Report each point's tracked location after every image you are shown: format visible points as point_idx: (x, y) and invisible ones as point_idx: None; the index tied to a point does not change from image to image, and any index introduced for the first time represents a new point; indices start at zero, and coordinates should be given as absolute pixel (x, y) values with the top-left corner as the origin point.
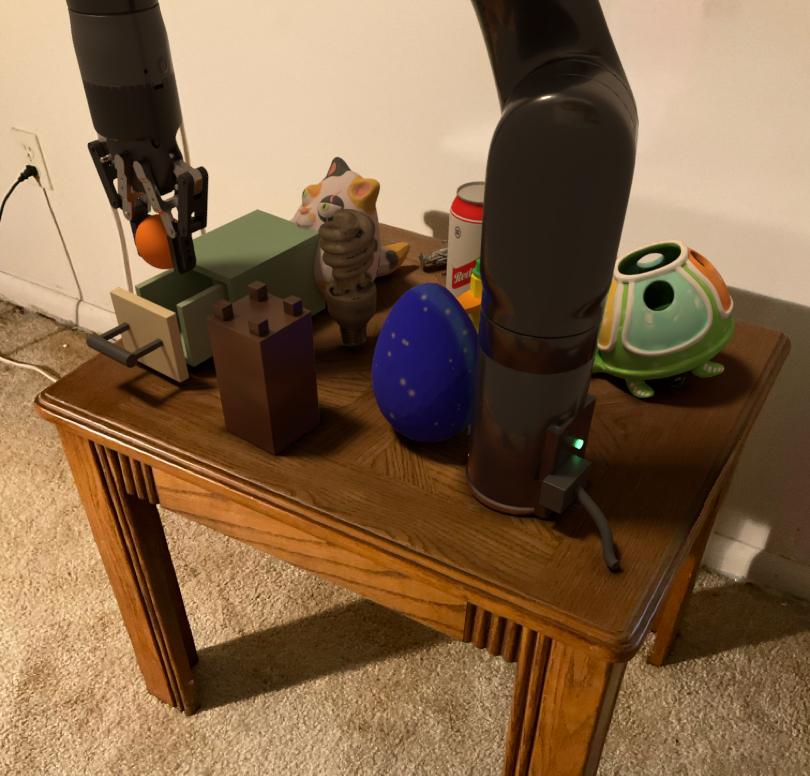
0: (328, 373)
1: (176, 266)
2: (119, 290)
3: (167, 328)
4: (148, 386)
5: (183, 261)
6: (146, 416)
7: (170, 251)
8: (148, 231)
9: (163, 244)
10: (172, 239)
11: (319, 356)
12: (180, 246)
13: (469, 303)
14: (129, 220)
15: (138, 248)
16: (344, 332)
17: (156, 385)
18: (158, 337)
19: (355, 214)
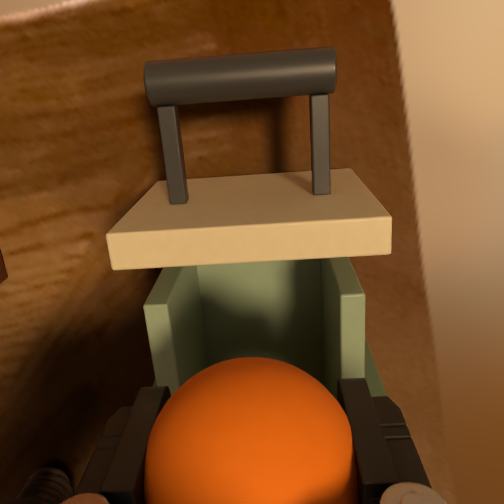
0: (16, 395)
1: (140, 400)
2: (369, 242)
3: (121, 221)
4: (230, 135)
5: (108, 429)
6: (131, 56)
7: (144, 438)
8: (217, 470)
9: (153, 448)
10: (102, 488)
11: (75, 421)
12: (89, 477)
13: None
14: (396, 484)
15: (271, 379)
16: (32, 489)
17: (220, 150)
18: (185, 204)
19: None
